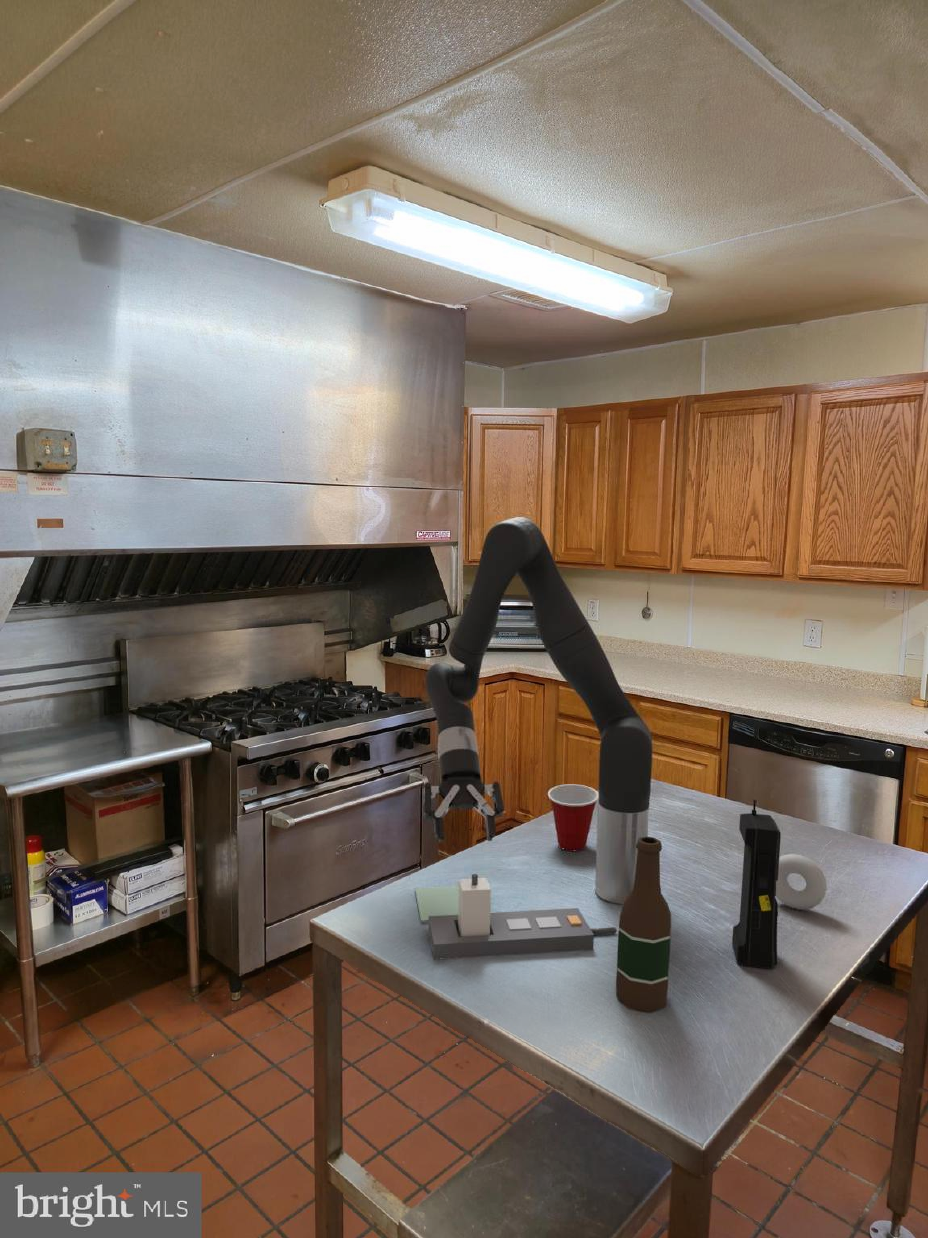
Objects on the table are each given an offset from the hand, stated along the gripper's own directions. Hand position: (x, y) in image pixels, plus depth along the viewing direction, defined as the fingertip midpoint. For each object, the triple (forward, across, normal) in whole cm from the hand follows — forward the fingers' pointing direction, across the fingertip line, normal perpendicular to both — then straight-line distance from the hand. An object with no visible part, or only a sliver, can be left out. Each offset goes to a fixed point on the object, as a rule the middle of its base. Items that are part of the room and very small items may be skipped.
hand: (466, 840), depth 137 cm
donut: (+13, +60, +6) cm, 62 cm away
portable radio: (+23, +44, -4) cm, 50 cm away
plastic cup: (-9, +27, +28) cm, 40 cm away
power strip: (+16, +9, +3) cm, 19 cm away
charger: (+16, 0, +3) cm, 17 cm away
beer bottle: (+29, +22, -10) cm, 38 cm away
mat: (+7, -2, +12) cm, 14 cm away
